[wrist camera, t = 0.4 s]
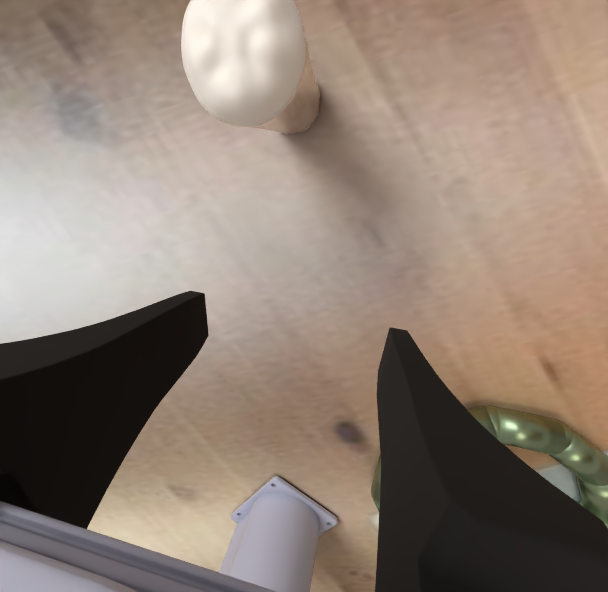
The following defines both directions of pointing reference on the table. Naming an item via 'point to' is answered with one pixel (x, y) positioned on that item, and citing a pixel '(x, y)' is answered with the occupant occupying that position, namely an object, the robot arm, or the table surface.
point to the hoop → (544, 451)
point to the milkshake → (250, 63)
